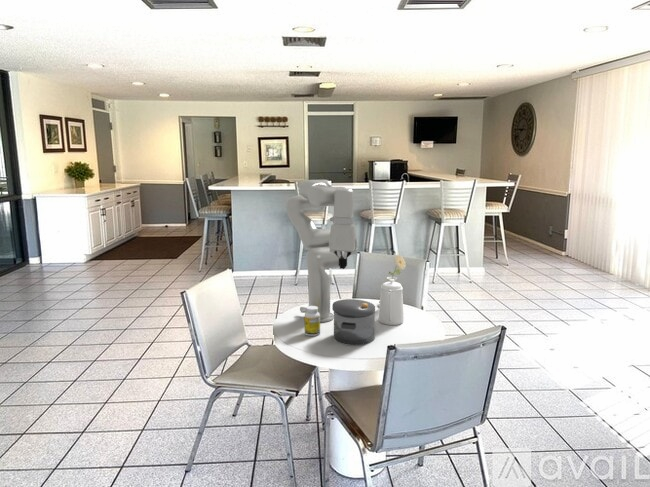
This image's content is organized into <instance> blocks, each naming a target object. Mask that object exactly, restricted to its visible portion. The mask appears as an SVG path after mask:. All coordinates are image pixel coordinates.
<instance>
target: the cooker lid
mask: <svg viewBox="0 0 650 487" xmlns="http://www.w3.org/2000/svg"><path fill="white" fill-rule="evenodd" d="M331 308H332V311H333V313H334V312H335V313H337V314H340V315H344V316H349V317H365V316H370V315H372V314H374V313H375V314H376V306H375V304H374V303H372V302H370V301H367V300H362V299H352V298H347V299H345V298H344V299H339V300H336V301H334V302H333V303H332V307H331Z"/></svg>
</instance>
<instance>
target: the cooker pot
mask: <svg viewBox="0 0 650 487" xmlns="http://www.w3.org/2000/svg"><path fill="white" fill-rule="evenodd" d="M333 315H334V318H333V339H334V341H336V342H337V343H339V344H343V345H347V346H363V345H367V344H370V343H372V342H374V340H375V336H376V335H375V333H376V332H375V331H376V330H375V325H376V324H375V322H376V312H375V313H374V314H372V315H370V316H365V317H349V316H344V315H340V314H337V313H335V312H334V311H333Z"/></svg>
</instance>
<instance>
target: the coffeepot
mask: <svg viewBox="0 0 650 487" xmlns="http://www.w3.org/2000/svg"><path fill="white" fill-rule="evenodd" d="M389 281H390V282H388V281H386V282H383V283H382V285H381V286H380V294H379V295H380V296H379V297H380V298H379V301H380V303H379V307H378V316H377V317H378V318H377V319H378V321H379V323H380V324H383V325H385V326H397V325H401V324H402V323H403V322H404V320H405V319H404V318H405V317H404V314H405V313H404V298H403V296H404V295H403V289H404V288H403V286H402V284H401V283H400V282H397V281H395V282H393V281H394V279H390V280H389Z"/></svg>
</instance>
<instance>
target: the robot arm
mask: <svg viewBox="0 0 650 487" xmlns="http://www.w3.org/2000/svg"><path fill="white" fill-rule="evenodd" d="M298 190H299V195H294V196H291V197H289V198H288V199H287V200H286V204H285V206H286V207H285V208H286V214H287V216H288V218H289V220H290V222H291V223H292V225H293V226H294V228H295V229H296V231H297V233H298V234H297V235H298V236H299V239H300V241H301V243H302V245H303V247H304V249H305V250H307V252H306V254H305V261H306V266H307V268H306V269H307V275H308V277H307V278H308V306H317V307H318V312H319V314H320V323H327V322H330V321H332V320H334V313H332V312H331V278H330V276H329V275H328V273H327V272H326V270H328V269H336V268H339V269H342V270H345V269H346V268H347V266H348V257H350V256H351V255H355V254H357V253H358V252H357V246H358V241H357V230H356V225H355V224H354V207H355V206H354V204H355V203H354V199H355V197H354V196H355V195H354V190H353V189H351V188H346V187H344V186H333V185H332V183H331V182H330V181H329V180H328V179H307V180H304V181H302V182H301V184H300V185H299V189H298ZM326 207H333V217H330V218H329V222H332V224H330V228H317V226H316V225H315V222H314V220H313V219H312V218H310V217H309V216H308V215H307V214H318V213H322V212H323V211H324V210H325V209H326ZM306 308H307V307H305V306H300V308H299V311H300V313H304V314H305V313H306V312H307V311H306Z"/></svg>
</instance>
